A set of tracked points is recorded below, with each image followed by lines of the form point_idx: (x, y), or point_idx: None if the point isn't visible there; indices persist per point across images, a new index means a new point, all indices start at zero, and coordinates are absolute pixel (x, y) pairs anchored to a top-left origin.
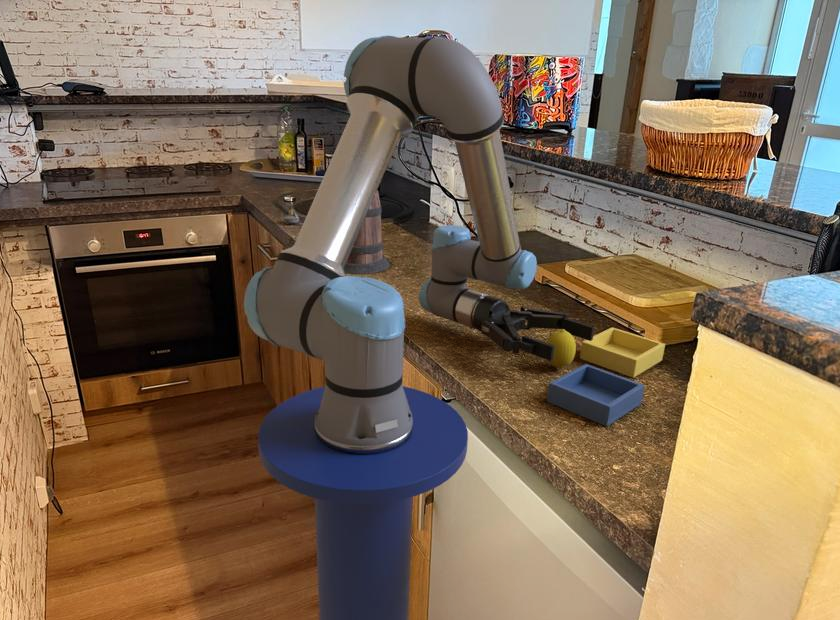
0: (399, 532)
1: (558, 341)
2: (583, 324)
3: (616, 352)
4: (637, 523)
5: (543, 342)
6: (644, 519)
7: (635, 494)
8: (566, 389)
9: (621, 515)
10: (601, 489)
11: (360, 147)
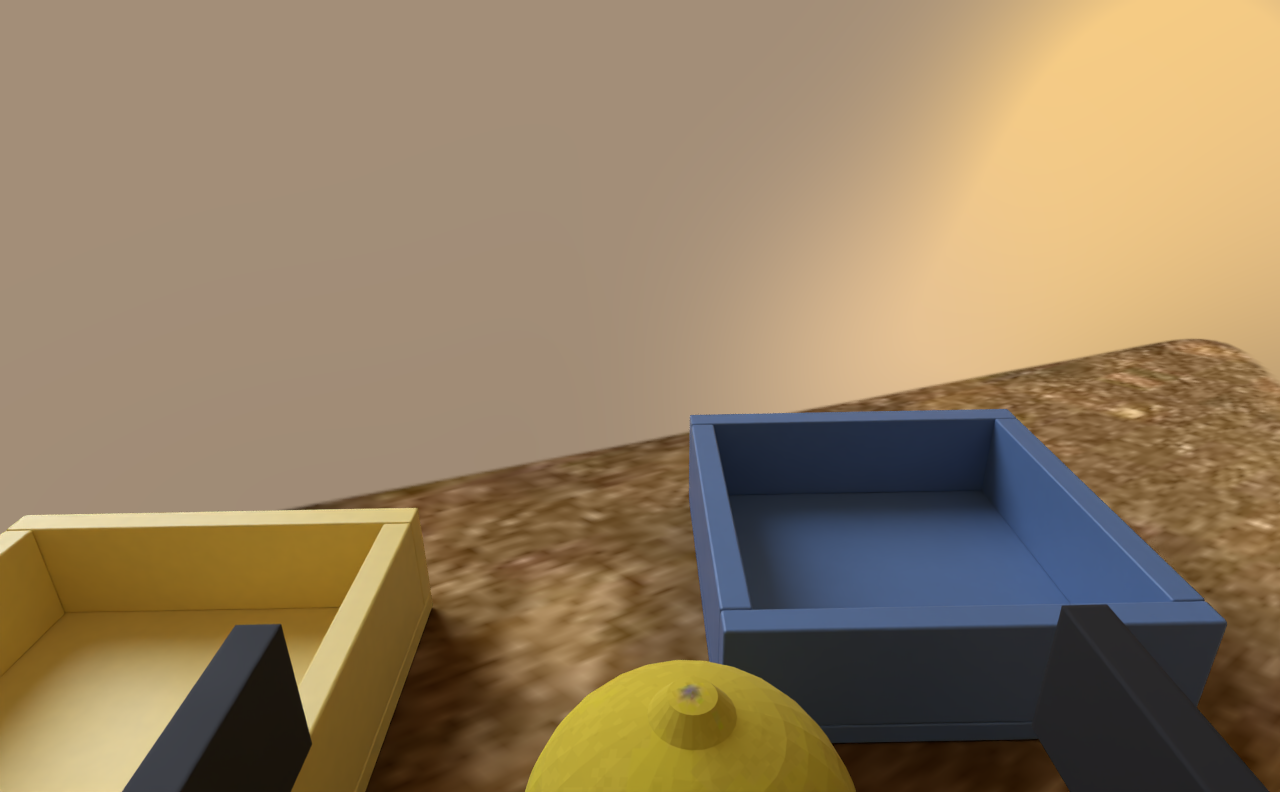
0: None
1: (828, 740)
2: (201, 725)
3: (354, 604)
4: (1214, 345)
5: (1155, 710)
6: (1186, 344)
7: (1150, 368)
8: (1138, 536)
9: (1243, 359)
10: (1248, 397)
11: None
